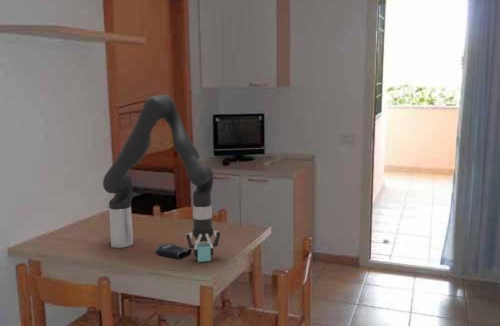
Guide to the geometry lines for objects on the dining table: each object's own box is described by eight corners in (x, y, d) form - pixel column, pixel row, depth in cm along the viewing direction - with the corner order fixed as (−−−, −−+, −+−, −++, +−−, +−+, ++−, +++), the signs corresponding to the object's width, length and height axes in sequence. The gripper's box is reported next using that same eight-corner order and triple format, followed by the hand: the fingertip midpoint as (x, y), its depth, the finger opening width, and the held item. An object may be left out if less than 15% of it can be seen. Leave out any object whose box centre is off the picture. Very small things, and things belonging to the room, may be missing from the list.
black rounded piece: (193, 257, 209) (166, 246, 216) (193, 245, 207) (166, 234, 214) (178, 266, 201) (151, 255, 209) (178, 254, 199) (150, 243, 207)
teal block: (198, 261, 197) (197, 247, 196) (196, 257, 202) (196, 243, 201) (210, 260, 198) (210, 246, 197) (209, 256, 203) (208, 242, 202)
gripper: (185, 220, 192) (186, 261, 195) (221, 217, 195) (222, 258, 198) (183, 214, 199) (185, 255, 202) (219, 212, 202) (220, 252, 205)
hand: (203, 256), depth 200 cm, fingers closed on teal block, 5 cm apart
